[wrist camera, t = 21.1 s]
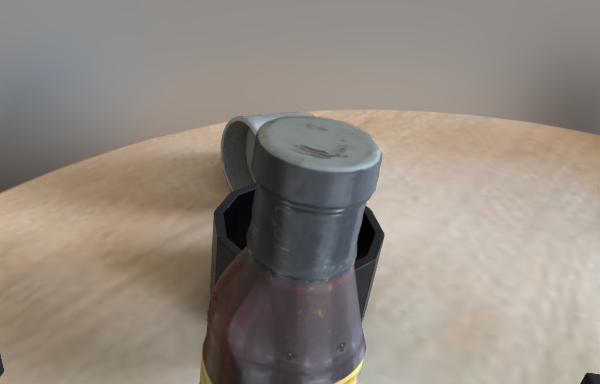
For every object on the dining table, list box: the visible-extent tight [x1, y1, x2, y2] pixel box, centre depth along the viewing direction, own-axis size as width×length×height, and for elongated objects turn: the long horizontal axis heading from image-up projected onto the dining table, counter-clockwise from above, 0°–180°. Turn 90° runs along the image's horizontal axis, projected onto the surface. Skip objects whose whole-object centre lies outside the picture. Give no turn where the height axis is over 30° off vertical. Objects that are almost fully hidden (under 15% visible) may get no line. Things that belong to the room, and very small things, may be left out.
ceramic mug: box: [221, 112, 313, 192], centre depth 51 cm, size 11×8×8 cm
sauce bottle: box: [200, 115, 382, 384], centre depth 22 cm, size 7×6×20 cm
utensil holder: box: [210, 183, 384, 323], centre depth 38 cm, size 11×11×6 cm
